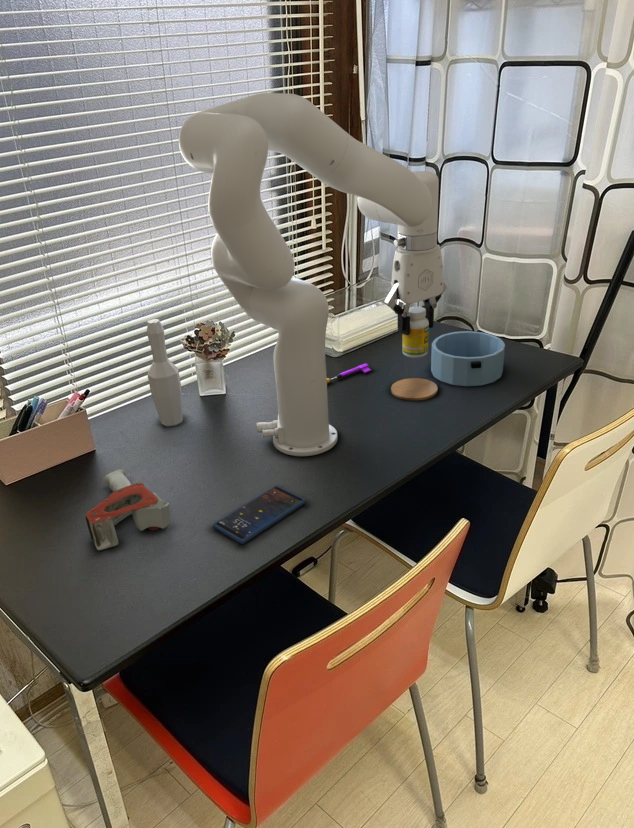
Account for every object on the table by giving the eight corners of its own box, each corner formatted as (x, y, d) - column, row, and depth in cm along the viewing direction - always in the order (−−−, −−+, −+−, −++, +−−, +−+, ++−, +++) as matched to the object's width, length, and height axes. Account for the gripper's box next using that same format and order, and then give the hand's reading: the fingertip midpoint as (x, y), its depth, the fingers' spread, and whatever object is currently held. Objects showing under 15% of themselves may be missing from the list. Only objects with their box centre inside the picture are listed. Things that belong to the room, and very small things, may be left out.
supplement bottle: (403, 348, 152) (403, 305, 147) (428, 348, 151) (429, 304, 146) (401, 358, 147) (401, 314, 142) (427, 358, 146) (428, 314, 141)
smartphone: (307, 499, 119) (241, 542, 110) (307, 503, 120) (242, 546, 111) (276, 483, 124) (210, 524, 115) (276, 487, 124) (211, 528, 115)
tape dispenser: (117, 486, 131) (54, 546, 115) (111, 460, 129) (45, 518, 112) (203, 492, 126) (150, 556, 109) (199, 466, 123) (143, 527, 107)
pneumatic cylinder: (365, 365, 165) (311, 387, 158) (366, 361, 165) (311, 383, 157) (373, 371, 164) (318, 393, 156) (373, 367, 163) (318, 389, 156)
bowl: (438, 390, 153) (439, 362, 149) (425, 358, 168) (426, 332, 164) (511, 385, 152) (514, 357, 149) (491, 353, 167) (493, 327, 164)
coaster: (394, 402, 149) (394, 399, 149) (388, 381, 158) (388, 379, 158) (441, 399, 149) (441, 396, 149) (433, 379, 158) (433, 376, 157)
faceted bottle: (161, 430, 145) (141, 329, 134) (153, 418, 150) (133, 319, 139) (190, 423, 147) (173, 322, 136) (182, 411, 152) (165, 313, 141)
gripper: (393, 253, 130) (393, 345, 140) (464, 236, 137) (459, 324, 147) (369, 245, 136) (371, 334, 146) (439, 229, 143) (436, 315, 153)
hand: (415, 328), depth 146 cm, fingers closed on supplement bottle, 5 cm apart
